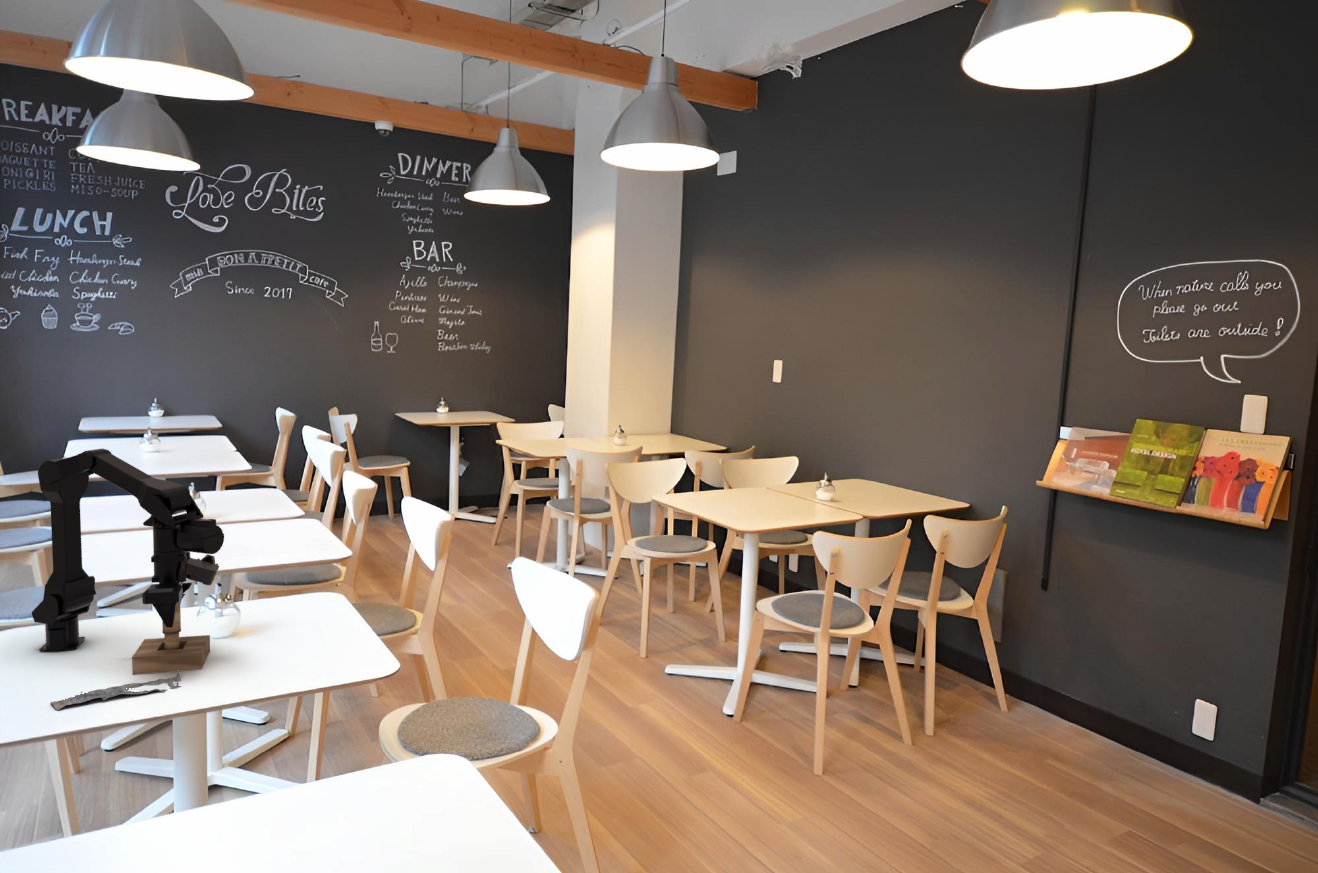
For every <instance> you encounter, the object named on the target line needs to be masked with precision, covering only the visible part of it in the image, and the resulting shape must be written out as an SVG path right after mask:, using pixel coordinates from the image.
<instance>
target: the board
mask: <svg viewBox="0 0 1318 873" xmlns="http://www.w3.org/2000/svg"><path fill="white" fill-rule="evenodd" d="M210 638H211V635H210V634H209V635H208V634H206V635H203V634H202V635H189V636H188V635H187V636H179V649H176V650H165V639H164V637H159V638H157V637H156V638H145V639H143V641H142V642H141V644H140V645H139V646H138V648H137V649H136V651H135V652H134V654H133V655H132V657H131V667H132V668H131V672H132V675H143V674H144V675H145V674H156V673H157V674H158V673H159V674H160V673H170V672H171V673H174V672H184V671H186V672H187V671H199V670H200V671H201V670H202V669H203V666H204V665H205V663H206V661H207V658H208V657H209V654H210V653H211V639H210Z"/></svg>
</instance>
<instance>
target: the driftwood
mask: <svg viewBox="0 0 1318 873" xmlns="http://www.w3.org/2000/svg"><path fill="white" fill-rule="evenodd" d="M180 682H182V678H181V672H178V673H177V674H176V675H175V676H172V677H169V678H159V679H156V680H149V681H147V682H132V683H131V682H130V683H127V684H122V685H117V686H111V687H107V688H100V689H95V690H94V689H93V690H90V691H87V692H88V693H86V692H83V691H80V693H79V694H80V695H78V694H76V695H74V696H75V697H74V696H73V697H71V696H70V697H68V698H64V699H65V700H64V699H61V700H58V701H55V700H54V701H51V702H50V704H51V705H53V707H54V709H55V710H56V711H57V710H61V709H62V708H64V707H66V706H70V705H74V704H81V703H85V702H88V701H92V700H94V699H98V698H99V699H100V698H101V699H102V702H105V701H106V700H107V699H110V698H112V697H116V696H118V695H142V694H148V693H151V692H153V691H154V692H155V691H158V692H162V693H166V692H168V690H169V689H170V690H177V689H179V688H182V686H181V685H179V684H180ZM163 684H167V686H168V687H169V689H158V688H154V689H153V688H152V689H150V690H146V689H145V690H142V691H132V690H131V691H128V690H130V689H129V688H131V689H132V688H134V689H136V688H141V687H143V686H149V687H150V686H160V685H163ZM126 688H127V689H126ZM82 693H84V694H82Z"/></svg>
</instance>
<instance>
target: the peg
mask: <svg viewBox="0 0 1318 873" xmlns="http://www.w3.org/2000/svg"><path fill="white" fill-rule="evenodd" d="M181 615H182V614H181V604H180V601H179V602H178V603H177V607H176V613H175V618H174V624H173V627H171V628H167V627H166V626H165V624H164V622H163V621H162V624H161V625H162V629H161V631H162V634H163V635H164V637H163V638H164V639H165V650H176V649H179V637H180V632H181V631H182V627H181V626H182V625H181V624H182V623H181V622H182V621H181V620H182V619H181V617H182V616H181Z"/></svg>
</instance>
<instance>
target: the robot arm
mask: <svg viewBox="0 0 1318 873" xmlns="http://www.w3.org/2000/svg"><path fill="white" fill-rule="evenodd" d="M93 474H94V475H96V476H98V477H99V478H102V479H103V480H105V481H107V482H109V483H111V484H112V485H114V486H116V487H117V488H118V489H121V490H123V491H125V492H127V493H128V494H129V495H132V496H133V497H134V498H135V499H137V501H138V504H139V506H140V507H141V508H142V509H143V510H144V511H146V512H147V514H149V515H150V516H149V518H147V519H146V520H145V521H144V522H143V523H142V525H143V526H145V527H152V538H153V540H152V542H153V544H152V546H153V548H152V549H153V554H152V556H151V557H150V560H151V561H150V563H153V575H152V576H151V583H152V584H150V585H149V586H148V587H147V588H146V589H145V590H144V592H143V593H142V596H141V597H142V598H141V599H142V600H141V601H142V604H143V605H152V606H153V608H154V609H155V611H156V612H157V614H158V616H159V618H160V619H161V620H162V621H163V622H164V624H165V626H166V627H167V628H171V627H173V624H174V618H175V613H176V607H177V603H178V602H179V601H180V605H181V604H182V600H183V599H184V597H185V595H186V592H187V591H188V590H189V589H190V588H191V586H192V585H193V583H192V582H187V580H190V581H194V582H199V583H201V584H203V585H205V586H211V585H212V584H213V583H214V581H215V578H216V576H217V573H218V571H219V568H220V566H219V563H216V558H215V556H214V555H215V554H216V553H218V552H219V551H220V550H221V548H222V547H223V544H224V542H225V533H224V532H223V529H222V528H221V527H220V525H217V519H216V518H204V514H203V513H202V511H201V508H200V507H199V506H198V504H197V503H196V501H195V500H194V498H193V497H192V495H191V490H190V489H189V488H188V487H186V485H184V484H181V483H177V482H175V481H173V480H172V481H171V480H166V479H162V478H161V479H160V478H156V477H154V476H151V475H150V474H148V473H146V472H144V471H142V470H141V469H139V468H137V467H135V466H134V465H132V464H130V463H128V462H127V461H125V460H123V459H121V458H119V457H118V456H116V455H114V454H113V453H112V451H110V450H109V449H105V448H95V449H90V450H88V449H87V450H84V451H82V452H80V453H78V454H76V455H72V456H69V457H62V458H57V459H51V460H46V461H44V462H42V464H41V465H40V466H38V470H37V478H38V481H39V489H40V491H41V493H42V494H43V495H44V497H46V499H47V500H48V501H49V505H50V524H51V525H50V526H51V549H52V551H51V552H52V554H51V555H52V573H51V574H50V576H49V577H48V579H47V581H46V583H45V585H44V588H43V589H44V590H43V598H42V601H40V603H39V604H37V606H35V608H34V609H33V610H32V611H31V615H32V619H33V621H34V623H39V624H44V628H45V629H44V630H45V632H44V633H45V643H44V644H43V645H42V646H41V647H40V648H39V652H55V651H71V650H72V651H73V650H77V649H78V648H79V647H80V645H81V644H82V643H83V642H84V641H85V640H86V636H80V628H79V627H80V625H79V615H82V614H85V613H86V614H87V613H89V611H90V607H91V604H92V602H93V601H94V599H95V598H94V596H95V595H97V591H96V587H95V586H96V584H95V582H96V578H95V576H93V575H89V574H88V573H87V572H86V571H85V569H84V568H83V550H82V549H83V548H82V525H81V524H82V523H81V522H82V521H81V500H82V498H83V496H84V494H85V492H86V491H87V489H88V487H89V481H90V479H89V478H90V476H91V475H93ZM191 553H196V554H205V556H204V557H203V558H201V559H200V558H193V557H191Z"/></svg>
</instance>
